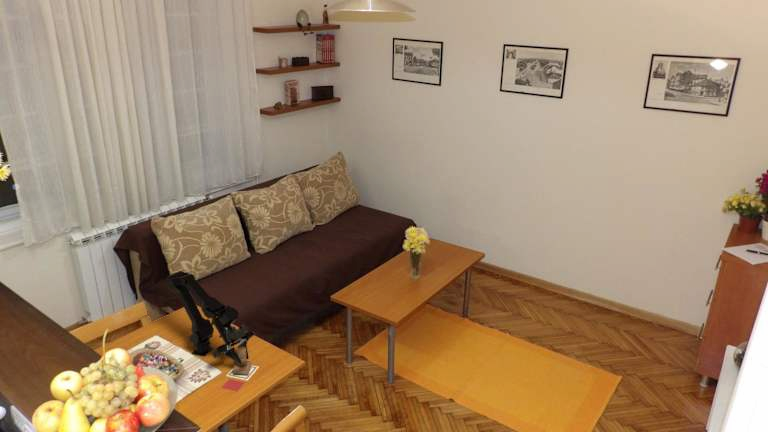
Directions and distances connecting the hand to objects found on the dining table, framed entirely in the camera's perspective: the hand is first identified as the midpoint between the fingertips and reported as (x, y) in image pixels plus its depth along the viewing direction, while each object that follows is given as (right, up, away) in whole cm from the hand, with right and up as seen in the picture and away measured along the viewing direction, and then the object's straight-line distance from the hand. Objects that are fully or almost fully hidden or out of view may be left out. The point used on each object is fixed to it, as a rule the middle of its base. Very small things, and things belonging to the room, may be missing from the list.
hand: (244, 361), depth 233 cm
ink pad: (-3, -9, -6) cm, 11 cm away
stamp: (-1, -5, +3) cm, 6 cm away
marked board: (-1, -6, +3) cm, 7 cm away
